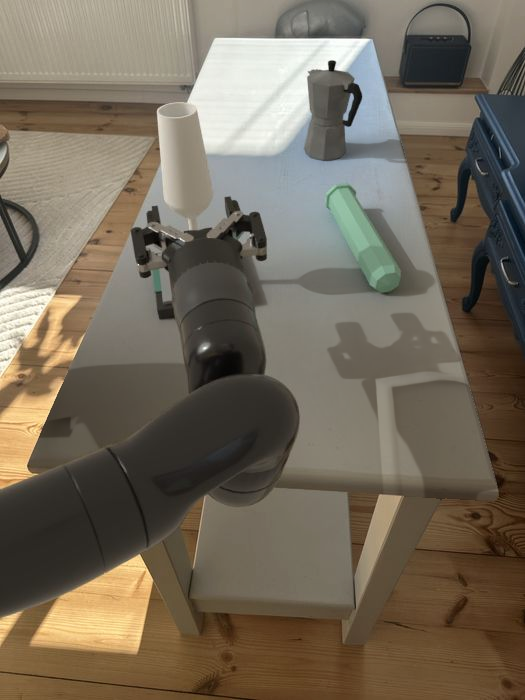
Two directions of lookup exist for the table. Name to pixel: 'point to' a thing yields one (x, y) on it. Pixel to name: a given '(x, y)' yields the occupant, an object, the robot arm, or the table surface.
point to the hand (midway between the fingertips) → (192, 207)
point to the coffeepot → (330, 111)
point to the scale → (163, 292)
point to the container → (363, 238)
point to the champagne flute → (183, 161)
